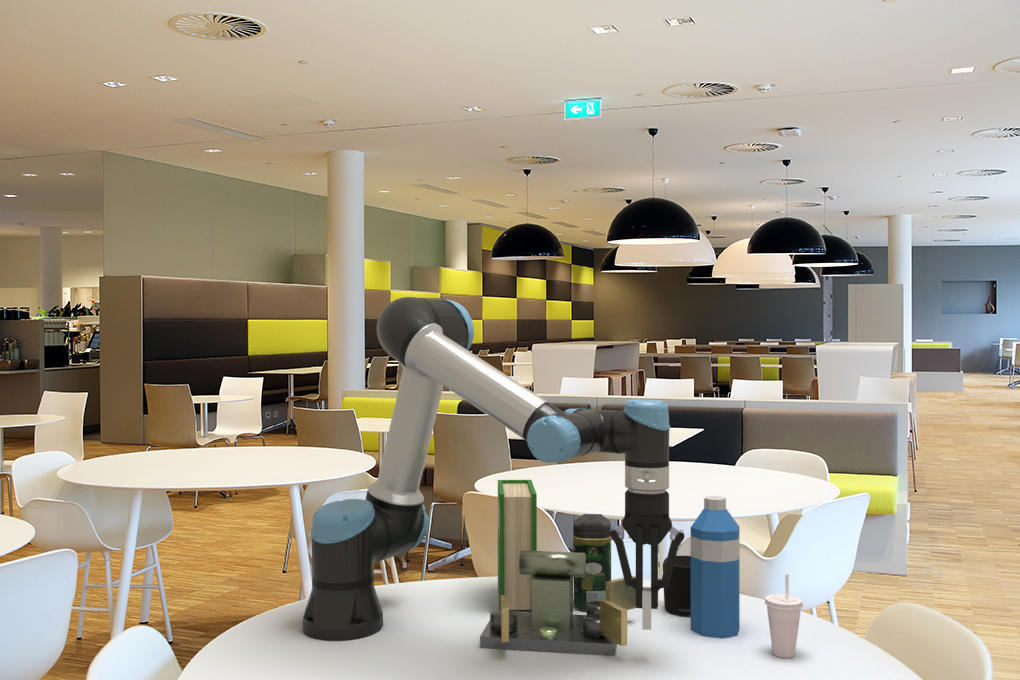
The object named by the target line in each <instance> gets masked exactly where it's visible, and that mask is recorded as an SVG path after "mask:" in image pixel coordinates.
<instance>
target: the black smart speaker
mask: <svg viewBox="0 0 1020 680" xmlns="http://www.w3.org/2000/svg"><path fill="white" fill-rule="evenodd" d="M666 560H667V557H665V559H664V560H663V562H662V573H663V572H664V568H665V564H666ZM663 600H664V601H663V602H664V605H663V606H664V610H665V611H666V612H667V613H669V614H671V615H674V616H678V617H679V616H680V617H686V618H687V617H688V618H691V555H676V558H675V562H674V566H673V570H672V574H671V578H670V582H669V586H668V587H667V588H663Z"/></svg>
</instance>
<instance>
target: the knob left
mask: <svg viewBox="0 0 1020 680" xmlns="http://www.w3.org/2000/svg"><path fill="white" fill-rule="evenodd" d="M495 610H496V611H495ZM495 610H492V611H491V612H490V613H489V620H490V629H491V630H493V631H497V632H501V638H502V642H509V632H511V631H514V630H516V629H517V612H518V611H517V612H515V611H516V610H509V605H508V597H507V595H501V610H499V609H498V610H497V609H495Z"/></svg>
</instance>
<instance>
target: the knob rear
mask: <svg viewBox="0 0 1020 680" xmlns="http://www.w3.org/2000/svg"><path fill="white" fill-rule="evenodd" d="M632 577H633V578H635V579H636V575H632ZM606 600H608V601H610V602H612V603H614V604H616V605H618V606H620V607H622V608H624V609H626V610H627V611H629V610H634V609H638V608H637V607H636V591H635V589H634V588H633V587H631V586H627V585H626V584H625V581H624V577H621V578H615V579H611V580H610V581H606ZM585 613H586V614H585V615H586V616H587V615H592V614H600V601H593V602H589V603H587V604H586V612H585Z"/></svg>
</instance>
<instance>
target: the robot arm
mask: <svg viewBox="0 0 1020 680" xmlns="http://www.w3.org/2000/svg"><path fill="white" fill-rule="evenodd" d="M376 334H377V338H378V339H377V340H378V342H379V344H380V346H381V347H382V349H383V350H384V351H385V352H386V353H387V355H388V356H390V357H391V358H393V359H394V360H396V361H397V362H398V363H400V366H401V367H402V373H401V377H400V381H399V385H398V390H397V394H396V399H395V403H394V408H393V411H392V416H391V420H390V425H389V430H388V433H387V437H386V442H385V445H384V446H385V447H384V451H383V455H382V457H381V459H382V460H381V464H380V468H379V472H378V477H377V480H376V481H374V482H372V483H370V484H369V485H368V487H367V491H366V495H365V498H364V499H361V498H350V499H349V498H347V499H343V500H336V501H332V502H329V503H326V504H324V505H322V506H320V507H319V508H317V509H316V510H315V512H314V514H313V515H312V521H311V522H312V523H311V530H310V536H311V579H312V580H311V581H312V582H311V591H310V594H309V597H308V601H307V604H306V607H305V610H304V613H303V616H302V632H303V633H304V634H305V635H307V636H309V637H311V638H314V639H319V640H328V641H337V640H338V641H342V640H343V641H344V640H352V639H358V638H363V637H364V638H365V637H366V636H369V635H372V634H375V633H377V632H379V631H380V630H382V628H383V626H384V612H383V609H382V606H381V603H380V600H379V597H378V594H377V591H376V588H375V564H376V563H380V562H382V561H384V560H388V559H390V558H393V557H397V556H402V555H404V554H406V553H408V552H410V551H411V550H413V549H414V548H416V547H417V546H419V545H420V544H421V542H422V541H423V540H424V538H425V536H426V534H427V531H428V526H429V515H428V513H426V510H427V509H426V505H424V502H425V501H424V500H425V497H424V495H423V494H422V492H421V490H420V485H421V481H422V476H423V472H424V469H425V464H426V460H427V457H428V452H429V448H430V443H431V440H432V435H433V431H434V427H435V423H436V419H437V416H438V415H437V414H438V410H439V405H440V402H441V397H442V394H443V393H442V392H443V389H444V387H445V388H447V389H448V390H450V391H452V392H453V393H454V394H455V395H457V396H459V397H460V398H461V399H462V400H465V401H466V402H468V403H469V404H471V405H472V406H474V407H475V408H477V409H478V410H479V411H481V412H482V413H484V414H485V415H487V416H488V417H490V418H491V419H493V420H494V421H496V422H497V423H499V424H500V425H502V426H503V427H505V428H506V429H507V430H509V431H511V432H513V433H514V434H515V435H517V436H518V437H520V438H521V439H522V440H524V441H525V442H526V443H527V446H528V449H529V450H530V452H531V454H532V456H533V457H534V458H536V459H537V460H539V461H540V462H542V463H545V464H557V463H558V464H560V463H564V462H567V461H569V460H572V459H574V458H577V457H583V456H586V455H590V454H593V453H606V454H607V453H608V454H617V455H618V454H621V455H622V454H623V455H624V487H625V488H626V491H625V492H624V516H623V518H622V519H621V520H622V522H621V524H619V525H617V526H616V527H611V530H610V536H611V540H612V541H613V542H614V545H615V547H616V552H617V555H618V561H619V565H620V568H621V572H622V578H624V581H625V584H626V585H627V586H631V587H633V588H634V589H635V591H636V607H637V608H636V609H641V611H642V612H641V613H642V614H641V617H642V619H641V621H642V623H641V624H642V625H641V626H642V627H641V630H644V631H646V630H647V631H648V630H649V631H650V630H652V610H658V608H659V591H660V590H661V589H664V588H667V587H668V586H669V582H670V578H671V574H672V570H673V566H674V562H675V558H676V556H677V553H678V549H679V546H680V545H681V544H682V543H683V541H684V539H685V531H684V530H683V529H678V528H677V527H675V526H674V525H673V523H672V522H673V521H672V519H671V517H670V493H669V492H668V491H667V490H668V489H669V487H670V461H669V460H670V430H671V425H670V415H669V413H670V412H669V406H668V404H667V403H666V402H665V401H663V400H660V399H637V398H636V399H629V400H627V401H626V402H625V403H624V408H623V409H622V410H610V409H596V408H593V409H592V408H587V407H580V408H579V407H578V408H567V409H566V410H564V411H563V410H561V409H560V408H558V407H557V406H555V405H554V404H551V403H550V402H549V401H548V400H546V399H544V398H543V397H541V396H540V395H538V394H537V393H535V392H533V391H532V390H530V389H529V388H527V387H526V386H524V385H523V384H521V383H519V382H517V380H515V379H513V378H512V377H510V376H509V375H507V374H506V373H504V372H502V371H501V370H499V369H498V368H497V367H494V366H493V365H491V364H490V363H488V362H487V361H485V360H483V359H482V358H480V357H479V356H478V355H475V354H474V353H473V352H471V351H470V350H469V349H470V348H471V346H472V344H473V341H474V336H475V327H474V321H473V319H472V317H471V316H470V313H469V311H468V310H467V309H466V308H465V307H464V306H463V305H461V304H460V303H459V302H456V301H454V300H450V299H447V298H441V297H416V296H404V297H400V298H396V299H394V300H392V301H391V302H390V303H388V304H387V305H386V306H385V307H383V309H382V311H381V313H380V314H379V316H378V318H377V322H376ZM624 531H625V532H626V534H628V536H629V538H630V539H631V541H632V542H633V543H635V577H636V579H635V578H633V577H632V576H633V574H632V570H631V567H630V562H629V560H628V559H629V558H628V555H627V551H626V546H625V541H624V537H625V533H624ZM669 533H670V534H669ZM668 534H669V539H670V545H669V549H668V551H667V556H666V558H667V560H666V564H665V568H664V572H663V571H662V577H661V578H659V544H660V543H661V542H663V540H664V539H665V537H666V536H667V535H668ZM644 545H649V546H650V586H644V585H643V584H644Z"/></svg>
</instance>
